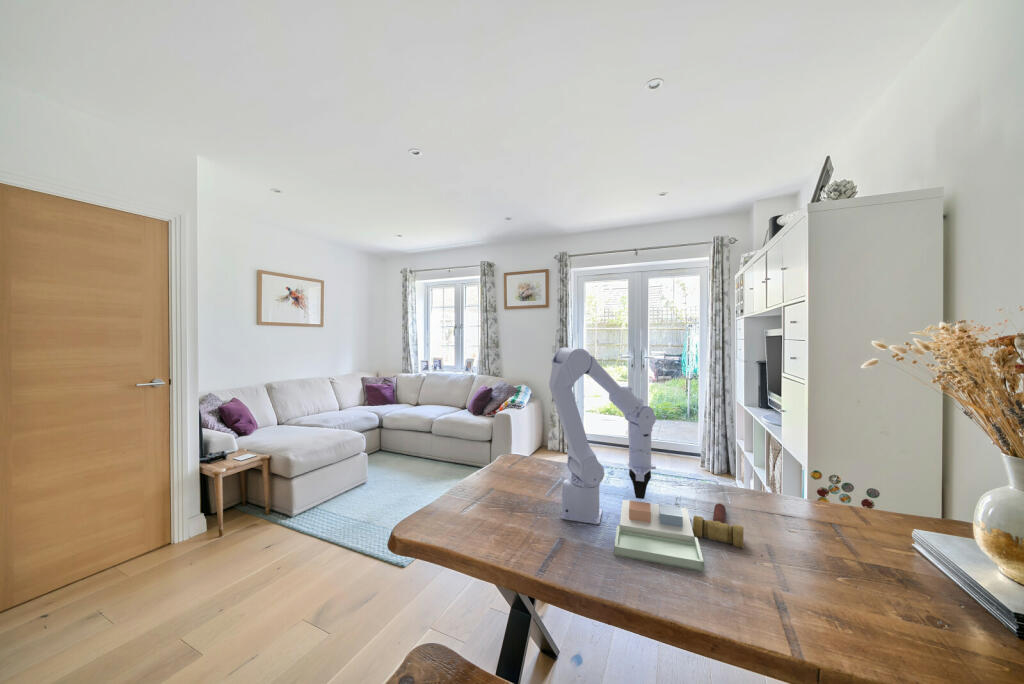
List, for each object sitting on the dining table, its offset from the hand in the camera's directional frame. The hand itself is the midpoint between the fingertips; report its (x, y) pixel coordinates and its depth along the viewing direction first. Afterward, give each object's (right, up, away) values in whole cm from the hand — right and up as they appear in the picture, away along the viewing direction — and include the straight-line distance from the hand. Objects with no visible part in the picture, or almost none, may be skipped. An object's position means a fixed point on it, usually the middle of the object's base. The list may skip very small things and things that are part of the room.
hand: (639, 497), depth 101 cm
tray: (-3, -3, -20) cm, 21 cm away
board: (+1, -3, -9) cm, 9 cm away
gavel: (+17, -4, -9) cm, 19 cm away
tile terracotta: (-3, -1, -9) cm, 9 cm away
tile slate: (+4, -1, -11) cm, 12 cm away
